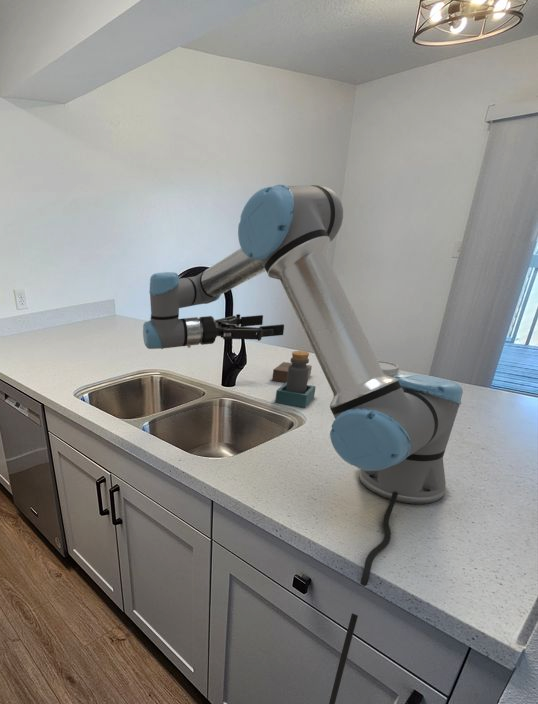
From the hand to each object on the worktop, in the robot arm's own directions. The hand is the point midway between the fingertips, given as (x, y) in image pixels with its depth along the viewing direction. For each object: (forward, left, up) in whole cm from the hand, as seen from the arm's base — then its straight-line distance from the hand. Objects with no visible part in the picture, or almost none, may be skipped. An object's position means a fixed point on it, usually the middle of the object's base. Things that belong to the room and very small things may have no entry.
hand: (272, 324), depth 122 cm
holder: (+7, -7, -24) cm, 26 cm away
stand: (+26, +1, -24) cm, 36 cm away
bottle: (+7, -7, -24) cm, 26 cm away
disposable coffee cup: (+14, -27, -24) cm, 39 cm away
